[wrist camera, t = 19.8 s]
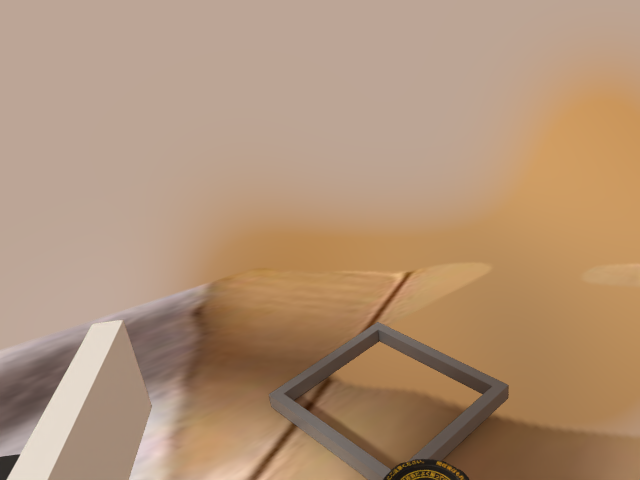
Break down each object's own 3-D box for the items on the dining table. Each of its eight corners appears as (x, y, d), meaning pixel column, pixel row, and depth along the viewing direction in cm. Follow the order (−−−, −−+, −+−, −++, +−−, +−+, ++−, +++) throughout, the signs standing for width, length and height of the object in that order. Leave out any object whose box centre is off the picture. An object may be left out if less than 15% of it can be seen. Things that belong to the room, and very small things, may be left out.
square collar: (271, 406, 57) (268, 394, 56) (378, 333, 65) (377, 321, 64) (397, 501, 45) (396, 487, 45) (508, 398, 54) (508, 385, 53)
